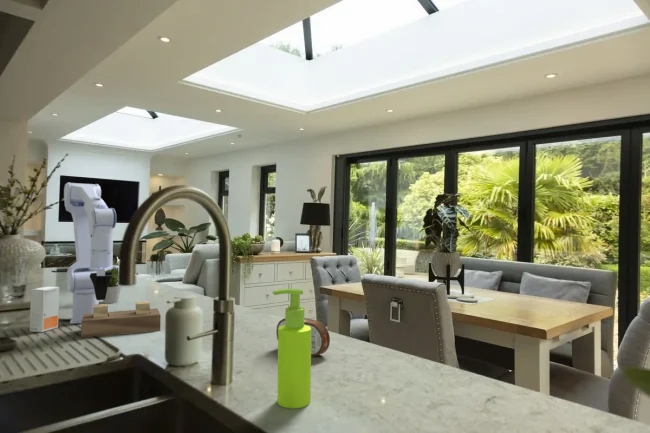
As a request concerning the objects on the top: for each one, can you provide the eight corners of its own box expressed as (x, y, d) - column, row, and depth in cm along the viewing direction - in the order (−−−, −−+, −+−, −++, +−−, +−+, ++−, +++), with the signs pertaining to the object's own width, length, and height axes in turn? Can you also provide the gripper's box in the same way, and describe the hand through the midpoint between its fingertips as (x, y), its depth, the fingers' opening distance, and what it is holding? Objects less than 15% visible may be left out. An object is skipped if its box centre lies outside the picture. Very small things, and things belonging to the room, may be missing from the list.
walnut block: (83, 329, 128) (83, 313, 128) (157, 322, 136) (157, 308, 136) (81, 337, 119) (81, 321, 119) (160, 330, 127) (160, 314, 127)
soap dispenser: (272, 395, 81) (273, 286, 81) (309, 394, 82) (310, 286, 82) (270, 409, 75) (272, 292, 76) (311, 408, 76) (312, 292, 76)
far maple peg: (135, 315, 131) (135, 301, 131) (148, 314, 132) (148, 301, 132) (136, 317, 128) (136, 304, 128) (149, 316, 129) (149, 303, 129)
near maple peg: (93, 318, 126) (93, 304, 126) (107, 317, 128) (107, 303, 128) (93, 321, 123) (93, 306, 123) (107, 320, 124) (107, 305, 124)
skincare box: (42, 332, 123) (42, 289, 124) (29, 331, 124) (29, 289, 124) (59, 327, 129) (59, 286, 130) (46, 326, 130) (47, 286, 130)
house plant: (95, 298, 176) (96, 257, 176) (133, 297, 179) (133, 257, 179) (85, 305, 162) (85, 261, 162) (125, 304, 165) (126, 260, 165)
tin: (330, 357, 105) (330, 321, 105) (322, 360, 102) (323, 324, 102) (282, 346, 113) (282, 313, 113) (274, 348, 111) (274, 315, 111)
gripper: (117, 252, 121) (116, 301, 120) (116, 248, 134) (116, 293, 133) (88, 252, 117) (87, 303, 117) (90, 249, 130) (89, 295, 130)
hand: (100, 298), depth 125 cm, fingers open, 4 cm apart
